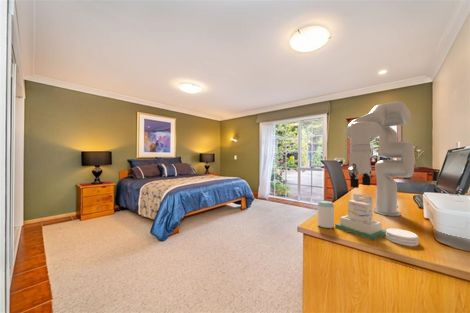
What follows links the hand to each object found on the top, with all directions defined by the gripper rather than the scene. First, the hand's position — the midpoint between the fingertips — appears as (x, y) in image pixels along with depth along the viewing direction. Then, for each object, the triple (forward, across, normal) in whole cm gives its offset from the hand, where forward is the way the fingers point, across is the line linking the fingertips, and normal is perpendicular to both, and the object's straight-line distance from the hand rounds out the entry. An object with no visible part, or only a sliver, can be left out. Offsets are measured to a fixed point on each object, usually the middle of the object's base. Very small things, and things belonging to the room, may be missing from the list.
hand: (360, 186), depth 88 cm
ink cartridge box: (+19, +1, 0) cm, 19 cm away
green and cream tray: (+20, +1, 0) cm, 20 cm away
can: (+20, +10, -11) cm, 25 cm away
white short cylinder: (+21, -3, +14) cm, 25 cm away
